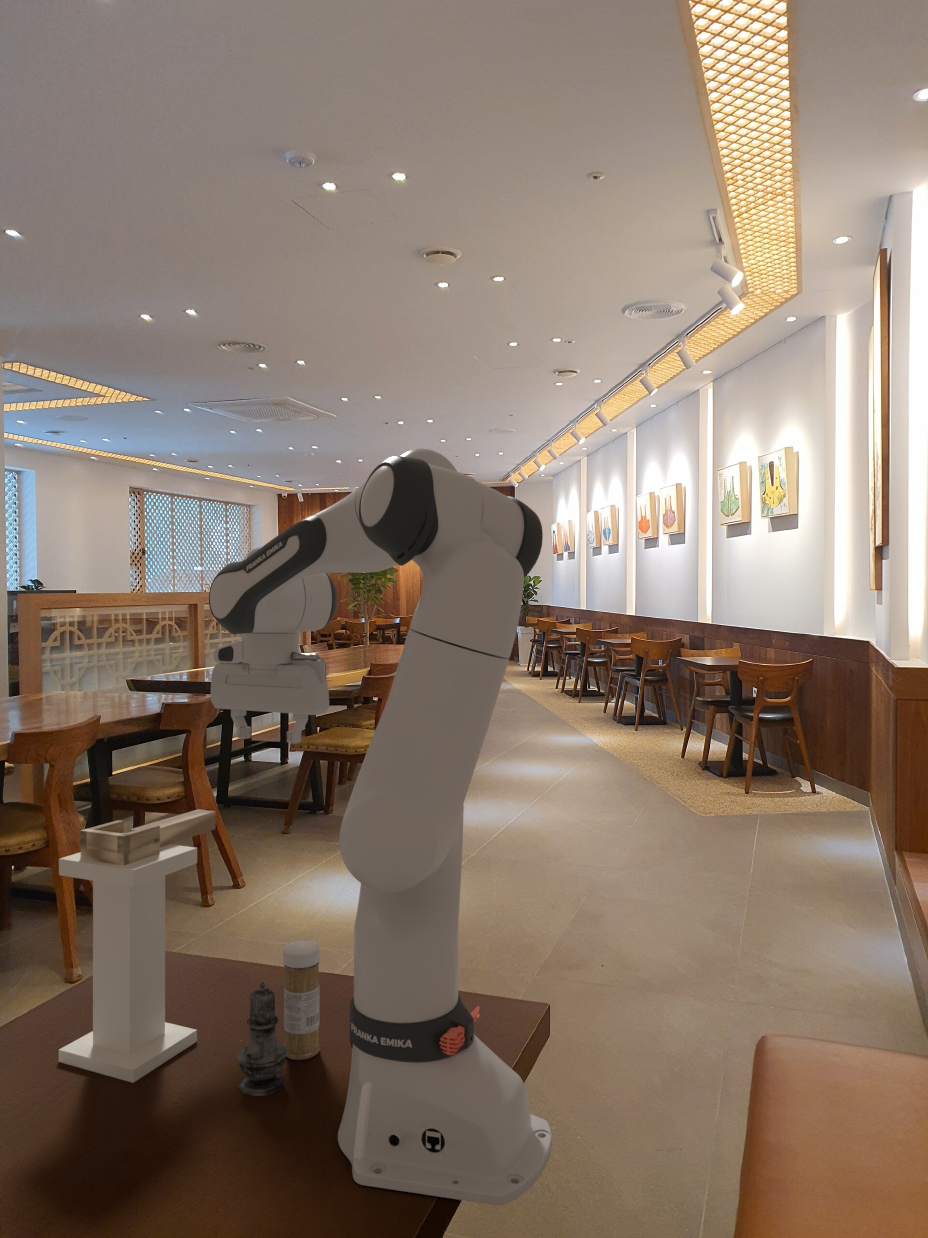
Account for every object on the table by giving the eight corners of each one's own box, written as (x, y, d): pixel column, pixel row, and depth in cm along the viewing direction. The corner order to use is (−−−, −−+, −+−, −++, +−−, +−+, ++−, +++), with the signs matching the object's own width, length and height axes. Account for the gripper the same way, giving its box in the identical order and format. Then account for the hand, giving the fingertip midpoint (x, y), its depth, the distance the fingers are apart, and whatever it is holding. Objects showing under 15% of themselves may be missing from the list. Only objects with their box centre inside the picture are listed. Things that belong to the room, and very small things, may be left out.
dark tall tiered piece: (275, 1100, 99) (275, 994, 99) (227, 1094, 100) (227, 990, 100) (295, 1074, 105) (295, 974, 105) (250, 1068, 106) (250, 970, 106)
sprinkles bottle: (308, 1040, 113) (308, 936, 113) (326, 1054, 110) (326, 947, 110) (276, 1051, 110) (276, 945, 110) (293, 1066, 107) (294, 956, 107)
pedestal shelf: (196, 1041, 113) (197, 847, 113) (133, 1083, 103) (133, 870, 103) (126, 1024, 118) (126, 838, 118) (58, 1062, 108) (58, 858, 108)
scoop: (226, 830, 122) (226, 805, 122) (123, 865, 105) (123, 836, 105) (187, 825, 125) (187, 801, 125) (80, 859, 108) (80, 830, 108)
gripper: (337, 653, 135) (336, 742, 135) (231, 649, 143) (229, 733, 143) (314, 654, 129) (313, 748, 129) (204, 650, 137) (203, 738, 137)
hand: (268, 740), depth 136 cm, fingers open, 8 cm apart
